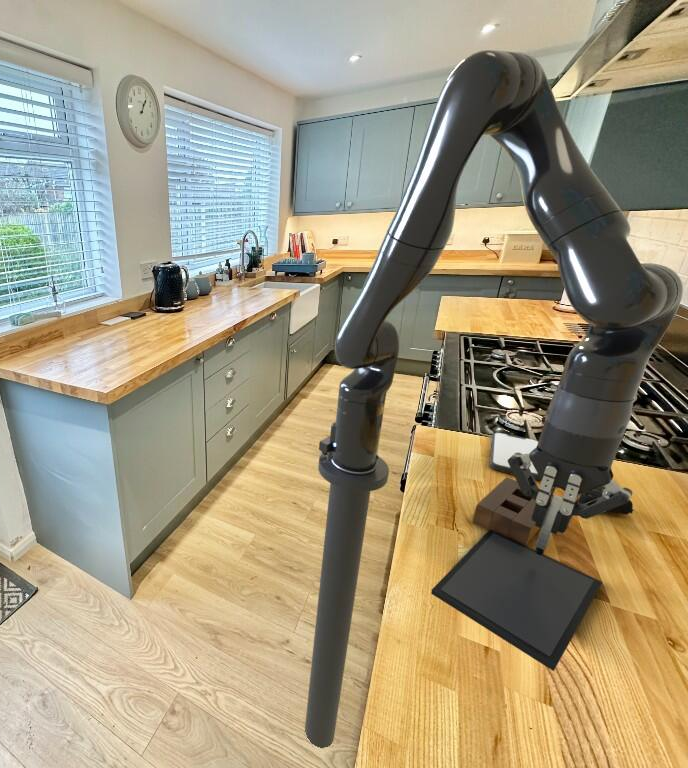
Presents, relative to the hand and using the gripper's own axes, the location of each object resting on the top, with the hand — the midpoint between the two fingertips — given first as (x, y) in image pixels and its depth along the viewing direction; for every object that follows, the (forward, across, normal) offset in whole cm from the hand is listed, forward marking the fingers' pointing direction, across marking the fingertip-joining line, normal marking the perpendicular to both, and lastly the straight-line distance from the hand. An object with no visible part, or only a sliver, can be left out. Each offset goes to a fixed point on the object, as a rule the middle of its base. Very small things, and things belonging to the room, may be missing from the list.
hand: (547, 527), depth 61 cm
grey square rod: (+5, 0, 0) cm, 5 cm away
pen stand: (+8, +6, -10) cm, 14 cm away
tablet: (+8, 0, +7) cm, 10 cm away
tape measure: (+8, -2, -25) cm, 26 cm away
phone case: (+8, +13, -33) cm, 36 cm away
